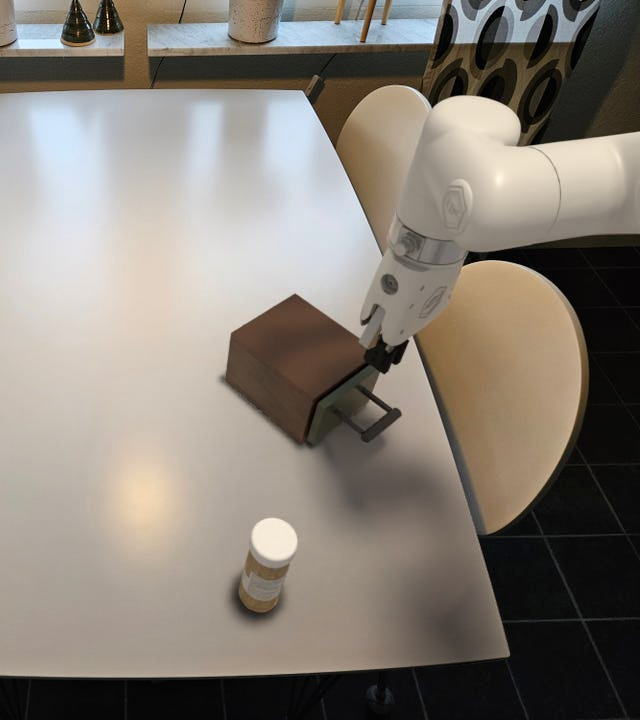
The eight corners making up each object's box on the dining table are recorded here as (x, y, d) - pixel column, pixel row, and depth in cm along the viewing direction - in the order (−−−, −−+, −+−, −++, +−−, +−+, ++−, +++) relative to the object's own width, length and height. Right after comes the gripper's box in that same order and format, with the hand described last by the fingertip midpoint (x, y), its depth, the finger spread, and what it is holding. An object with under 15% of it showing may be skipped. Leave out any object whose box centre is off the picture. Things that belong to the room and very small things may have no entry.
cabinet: (361, 397, 91) (378, 351, 84) (300, 444, 86) (313, 399, 78) (285, 340, 99) (295, 292, 91) (224, 379, 93) (230, 332, 86)
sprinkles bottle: (246, 567, 74) (261, 508, 64) (284, 585, 73) (305, 527, 63) (231, 602, 71) (243, 547, 61) (270, 621, 70) (289, 567, 60)
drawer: (402, 428, 86) (420, 391, 81) (347, 474, 81) (362, 438, 76) (296, 347, 96) (305, 309, 90) (241, 384, 91) (246, 346, 86)
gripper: (414, 287, 56) (364, 415, 70) (510, 220, 63) (447, 349, 77) (347, 245, 60) (311, 374, 74) (444, 187, 67) (395, 315, 81)
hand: (381, 361), depth 75 cm, fingers closed
